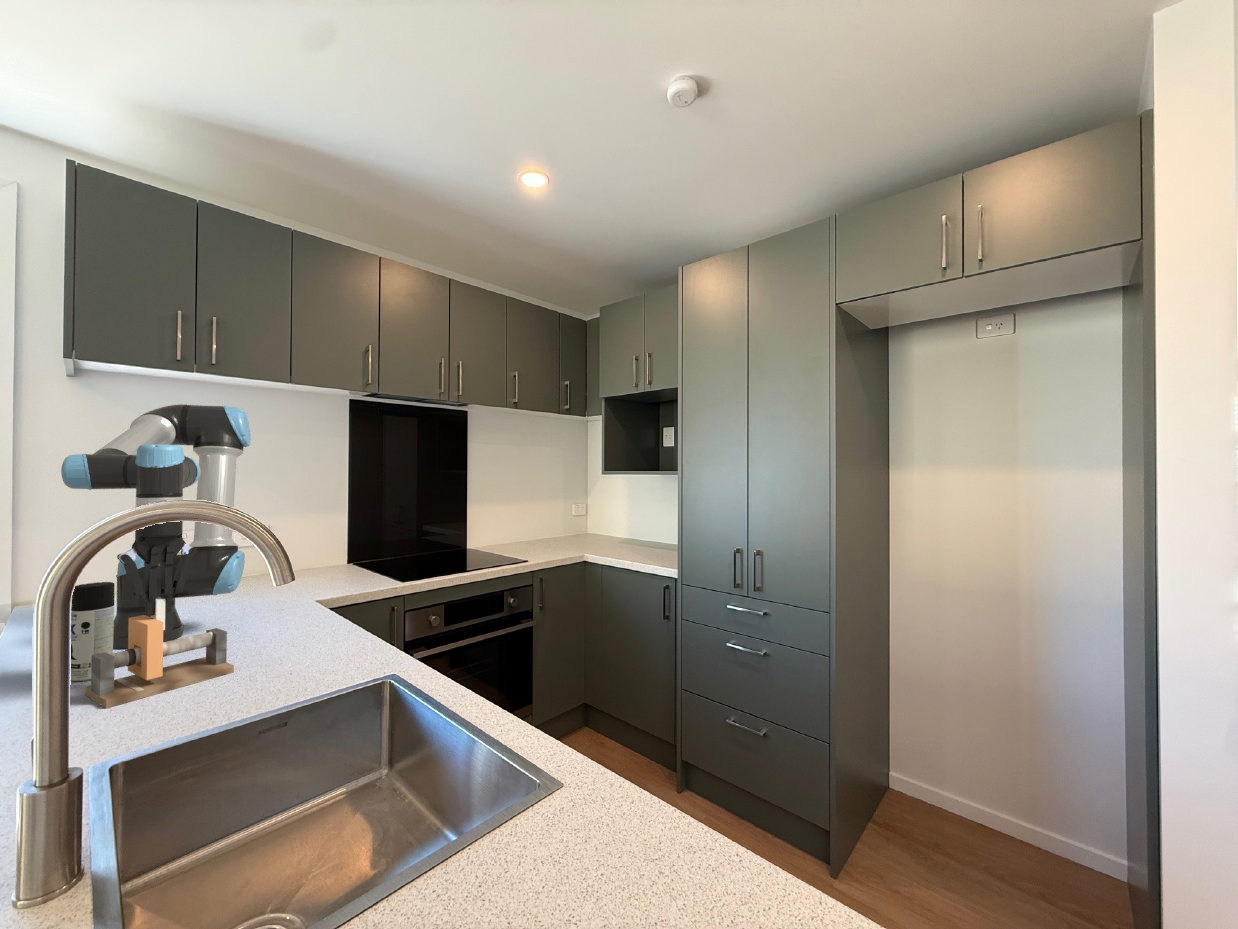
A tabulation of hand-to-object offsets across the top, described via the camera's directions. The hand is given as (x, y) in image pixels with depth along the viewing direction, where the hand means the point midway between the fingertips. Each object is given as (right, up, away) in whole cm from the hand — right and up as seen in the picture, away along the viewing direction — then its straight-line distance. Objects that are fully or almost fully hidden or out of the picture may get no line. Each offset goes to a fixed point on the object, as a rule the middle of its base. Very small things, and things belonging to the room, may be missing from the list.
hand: (157, 629), depth 110 cm
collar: (-1, -8, -2) cm, 9 cm away
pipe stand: (0, -11, +1) cm, 11 cm away
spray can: (-18, -12, +4) cm, 22 cm away
